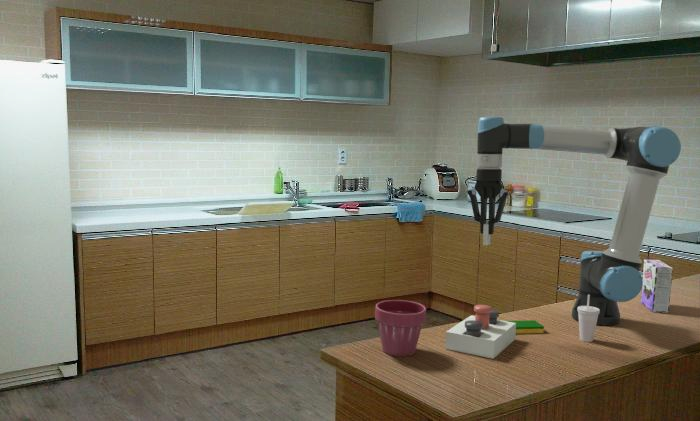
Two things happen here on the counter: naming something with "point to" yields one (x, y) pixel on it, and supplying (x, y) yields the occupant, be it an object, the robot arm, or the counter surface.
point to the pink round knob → (483, 314)
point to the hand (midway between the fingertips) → (486, 244)
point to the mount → (481, 338)
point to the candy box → (656, 285)
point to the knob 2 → (493, 317)
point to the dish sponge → (528, 327)
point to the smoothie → (587, 321)
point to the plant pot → (399, 325)
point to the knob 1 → (473, 328)
